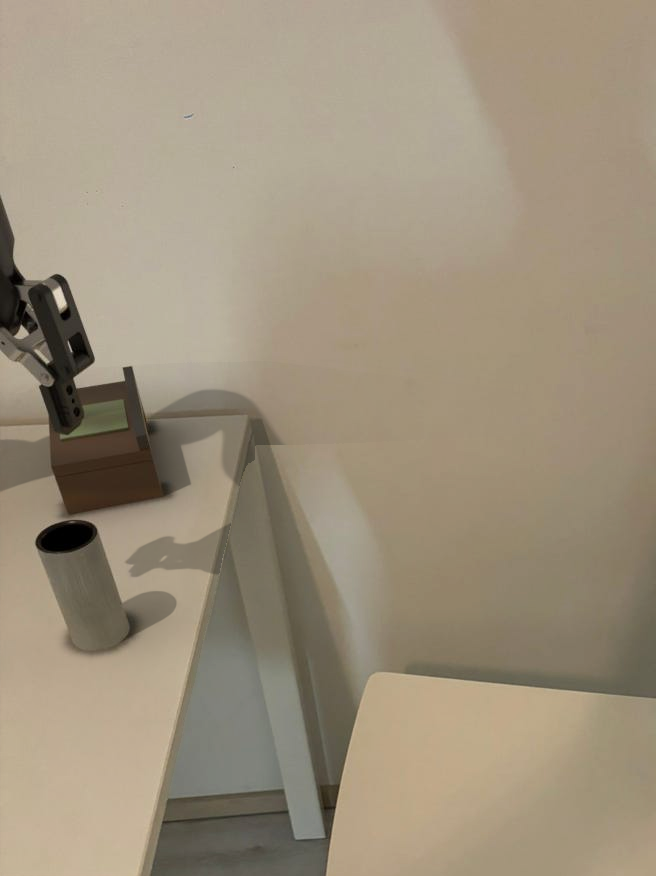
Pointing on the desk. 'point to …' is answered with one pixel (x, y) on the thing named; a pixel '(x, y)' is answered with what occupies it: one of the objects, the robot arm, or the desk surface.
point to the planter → (83, 584)
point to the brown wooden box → (106, 450)
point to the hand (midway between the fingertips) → (17, 423)
